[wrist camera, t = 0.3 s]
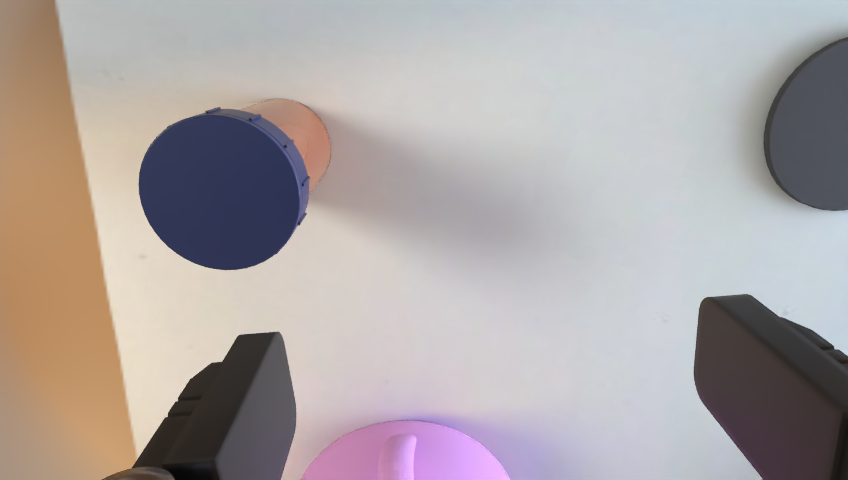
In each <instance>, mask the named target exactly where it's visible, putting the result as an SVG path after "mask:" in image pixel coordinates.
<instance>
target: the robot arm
mask: <svg viewBox="0 0 848 480" xmlns="http://www.w3.org/2000/svg"><path fill="white" fill-rule="evenodd" d="M694 380H695V385H696V389H697V392H698V395H699V397H700V399H701V401H702V402H703V404H704V405H705V406H706V408H707V409H708V410H709V411H710V413H711V414H712V415H713V417H714V418H715V419H716V420H717V422H718V423H719V424H720V425H721V427H722V428H723V429H724V430H725V432H726V433H727V434H728V435H729V437H730V438H731V439H732V441H733V442H734V443H735V444H736V446H737V447H738V448H739V449H740V451H741V452H742V453H743V454H744V456H745V457H746V458H747V460H748V461H749V462H750V463H751V465H752V466H753V467H754V468H755V470H756V471H757V472H758V473H759V475H760V476H761V477H762V479H763V480H848V356H847V355H845V354H844V353H842V352H841V351H840V350H835V349H834V346H833V345H832V344H830V343H829V342H828V341H826V340H825V339H823V338H822V337H821V336H819V335H818V334H817V333H815V332H814V331H813V330H811V329H808V328H806V327H804V326H801V325H799V324H796V323H794V322H792V321H789V320H787V319H785V318H782V317H779V316H777V315H776V314H775V313H774V312H772V311H771V310H770V309H768V308H767V307H766V306H764V305H763V304H762V303H760V302H759V301H758V300H756V299H755V298H754V297H752V296H751V295H748V294H742V295H730V296H718V297H707V298H705V299H703V301H702V302H701V304H700V308H699V316H698V327H697V338H696V350H695V361H694ZM295 427H296V403H295V397H294V392H293V387H292V381H291V376H290V371H289V365H288V360H287V355H286V350H285V344H284V340H283V337H282V335H281V334H280V333H279V332H269V333H256V334H244V335H239V336H238V337H237V338H236V340H235V342H234V343H233V345H232V347H231V348H230V350H229V352H228V353H227V355H226V357H225V358H224V360H223V362H216V363H211V364H210V365H208V366H207V367H206V368H204V369H203V370H202V371H201V372H199V373H198V374H197V375H195V376H194V377H193V378H192V379H190V381H189V382H188V384H187V385H186V387H185V388H184V390H183V391H182V393H181V394H180V396H179V397H178V402H175V403H174V405H173V406H172V408H171V409H170V411H169V412H168V417H165V419H164V420H163V422H162V423H161V425H160V426H159V428H158V429H157V431H156V432H155V434H154V435H153V437H152V438H151V440H150V441H149V443H148V444H147V446H146V447H145V449H144V450H143V452H142V453H141V455H140V456H139V458H138V460H137V461H136V463H135V464H134V466H133V467H132V469H127V470H124V471H121V472H118V473H115V474H113V475H111V476H108V477H106V478H104V479H102V480H281V476H282V473H283V470H284V467H285V463H286V460H287V457H288V453H289V450H290V447H291V444H292V440H293V437H294V433H295Z"/></svg>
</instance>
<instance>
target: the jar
mask: <svg viewBox="0 0 848 480" xmlns="http://www.w3.org/2000/svg"><path fill="white" fill-rule="evenodd" d="M240 110H241V111H246V112H250V113H253V114H255V115H257V114H261V117H262V118H264V119H266V120H268V121H270V122H271V123H273V124H274V125H276V126H277V127H278V128H280V129H281V130H282V131H283V132H284V133H285V134H286V135H287V136H288V137H289V138H290V139H291V140H292V139H293V140H294V142H293V143H294V145H295V146H296V147H297V149H298V151H299V152H300V154H301V156H302V158H303V161H304V163H305V166H306V169H307V174H308V176H310V180H309V195H310V194H311V192H312V191H313V189H314V188H315V187H316V185H317V184H318V182H319V181H320V180H321V178H322V177H323V175H324V174H325V172H326V170H327V168H328V165H329V162H330V157H331V144H330V139H329V135H328V133H327V130H326V128H325V126H324V124H323V123H322V121H321V120H320V119H319V118H318V116H317V115H316V114H315V113H314V112H313V111H311V110H310V109H309V108H307V107H306V106H304V105H302V104H300V103H298V102H295V101H292V100H288V99H270V100H266V101H263V102H260V103H257V104H254V105H251V106H248V107H246V108H243V109H240Z"/></svg>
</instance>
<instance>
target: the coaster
mask: <svg viewBox="0 0 848 480" xmlns="http://www.w3.org/2000/svg"><path fill="white" fill-rule="evenodd" d="M764 151H765V157H766V161H767V165H768V168H769V170H770V172H771V175H772V176H773V178H774V180H775V181H776V183H777V184H778V185H779V186H780V188H781V189H782V190H783V191H784V192H785V193H787V194H788V195H789V196H790V197H792V198H793V199H795V200H797V201H799V202H801V203H803V204H806V205H808V206H811V207H814V208H818V209H822V210H832V211H838V210H848V38H844V39H841V40H838V41H836V42H834V43H832V44H829V45H827V46H826V47H824V48H822V49H820V50H819V51H817V52H816V53H814V54H813V55H812V56H810V57H809V58H808V59H806V60H805V61H804V62H803V63H802V64H801V65H800V66H799V67H797V68H796V69H795V71H794V72H793V73H792V74H791V75H790V76H789V77H788V79H787V80H786V81H785V83H784V84H783V86H782V87H781V88H780V90H779V92H778V94H777V96H776V97H775V99H774V101H773V104H772V106H771V108H770V111H769V114H768V118H767V121H766V126H765V132H764Z"/></svg>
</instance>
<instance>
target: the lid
mask: <svg viewBox="0 0 848 480" xmlns="http://www.w3.org/2000/svg"><path fill="white" fill-rule="evenodd" d="M205 112H206V113H202V114H199V115H196V116H193V117H190V118H186V119H183V120H181V121H179V122H177V123H175V124H172V125H170V126H168V127H167V129H165V130H164V131H163V132H162V133H161V134H159V135H158V136H157V137H156V139H155V140H154V141H153V142H152V144H151V145H150V147H149V148H148V150H147V152H146V154H145V156H144V159H143V161H142V164H141V169H140V173H139V194H140V199H141V204H142V207H143V210H144V213H145V215H146V217H147V220H148V222H149V223H150V225H151V227H152V228H153V230H154V231H155V233H156V234H157V235H158V236H159V238H160V239H161V240H162V241H163V242H164V243H165V244H166V245H167V246H168V247H169V248H171V249H172V250H173V251H174V252H176V253H177V254H178V255H180V256H182V257H183V258H185V259H187V260H189V261H191V262H193V263H195V264H198V265H201V266H204V267H208V268H213V269H221V270H237V269H243V268H248V267H251V266H255V265H257V264H260V263H262V262H264V261H266V260H267V259H269V258H271V257H272V256H273V255H275V254H277V253H278V252H279V251H280V249H281V248H282V247H283V246H284V245H285V244H286V243H287V241H288V240H289V238H290V237H291V235H292V234H293V232H294V231H295V229H296V228H297V226H298V225H300V224H301V222H302V221H303V219H304V218H305V216H306V214H307V213H305V210H306V207H307V204H308V198H309V180H310V176H308V174H307V169H306V166H305V163H304V161H303V158H302V156H301V154H300V152H299V151H298V149H297V147H296V146H295V145H294V143H293V142H294V140H293V139H292V140H291V139H290V138H289V137H288V136H287V135H286V134H285V133H284V132H283V131H282V130H281V129H280V128H278V127H277V126H276V125H274V124H273V123H271V122H270V121H268V120H266V119H264V118H262V117H261V114H257V115H255V114H253V113H250V112H246V111H241V110H233V109H221V108H220V107H218V108H214V109H211V110H208V111H205Z"/></svg>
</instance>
